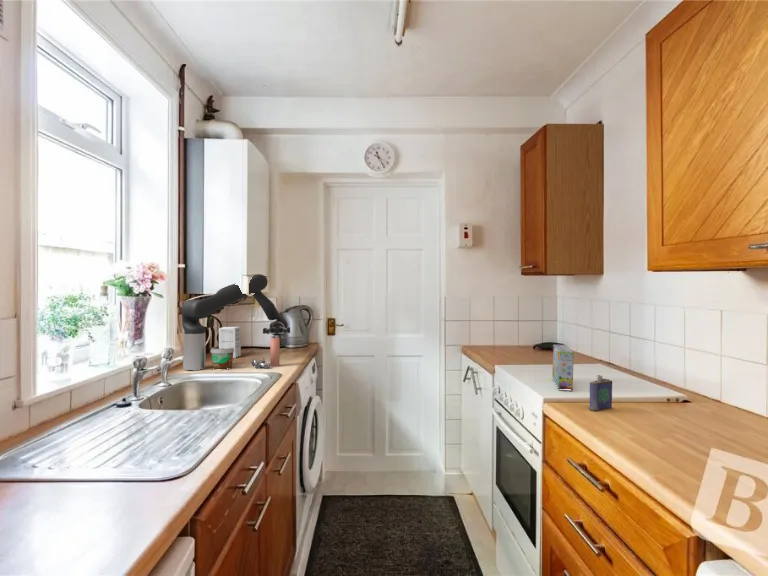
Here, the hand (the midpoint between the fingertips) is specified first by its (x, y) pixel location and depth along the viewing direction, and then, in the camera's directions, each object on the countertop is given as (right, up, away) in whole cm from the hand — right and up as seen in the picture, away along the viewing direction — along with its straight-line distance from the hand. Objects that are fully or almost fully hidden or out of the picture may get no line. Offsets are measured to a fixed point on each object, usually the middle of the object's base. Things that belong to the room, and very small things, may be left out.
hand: (276, 331), depth 216 cm
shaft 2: (-2, -16, -17) cm, 23 cm away
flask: (+126, -16, -85) cm, 153 cm away
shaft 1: (-6, -16, -9) cm, 19 cm away
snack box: (+128, -16, -52) cm, 139 cm away
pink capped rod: (+2, -16, -11) cm, 20 cm away
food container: (-22, -16, -19) cm, 33 cm away
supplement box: (-31, -16, +16) cm, 38 cm away
